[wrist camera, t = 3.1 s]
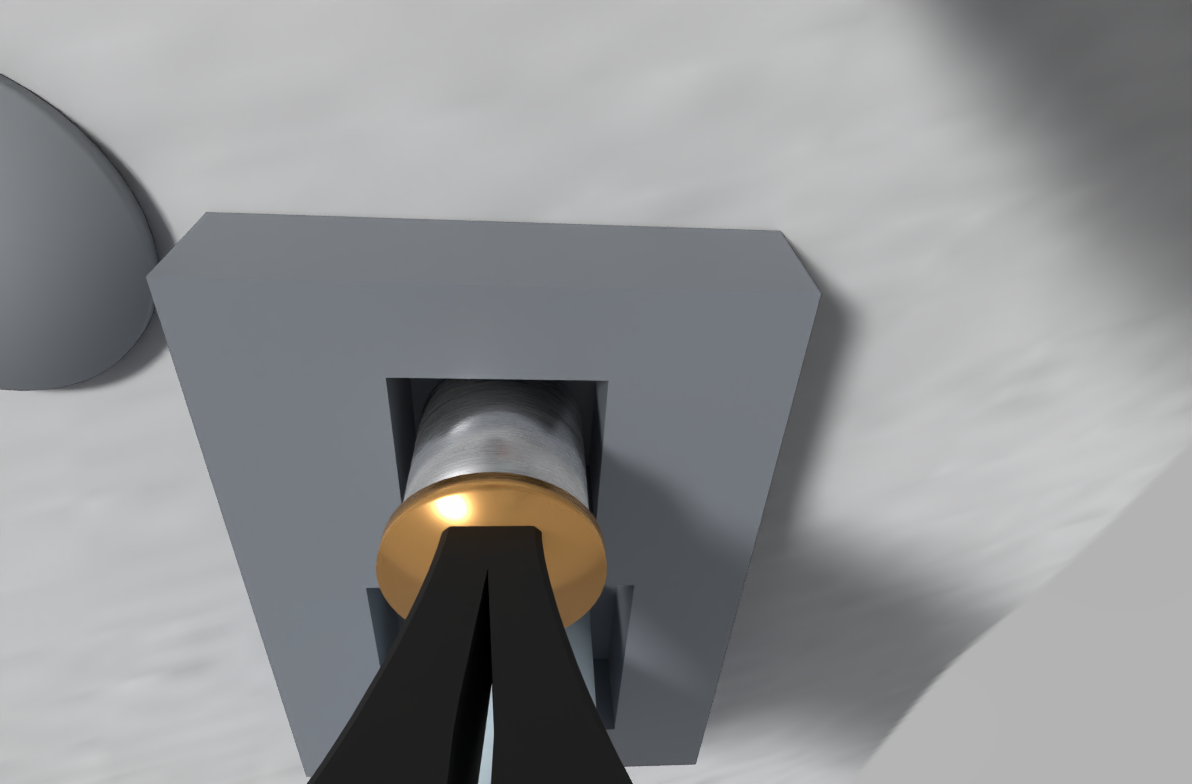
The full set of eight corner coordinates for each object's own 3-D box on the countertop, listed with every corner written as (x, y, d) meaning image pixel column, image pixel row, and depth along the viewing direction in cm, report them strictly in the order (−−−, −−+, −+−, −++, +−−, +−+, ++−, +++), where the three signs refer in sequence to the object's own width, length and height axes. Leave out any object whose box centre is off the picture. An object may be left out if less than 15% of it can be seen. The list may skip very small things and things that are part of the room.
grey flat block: (681, 682, 22) (695, 764, 20) (328, 690, 21) (306, 776, 19) (779, 230, 13) (821, 293, 12) (205, 212, 13) (145, 276, 11)
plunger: (587, 492, 15) (599, 643, 12) (417, 492, 15) (388, 647, 12) (598, 351, 13) (615, 491, 10) (402, 347, 13) (362, 491, 10)
